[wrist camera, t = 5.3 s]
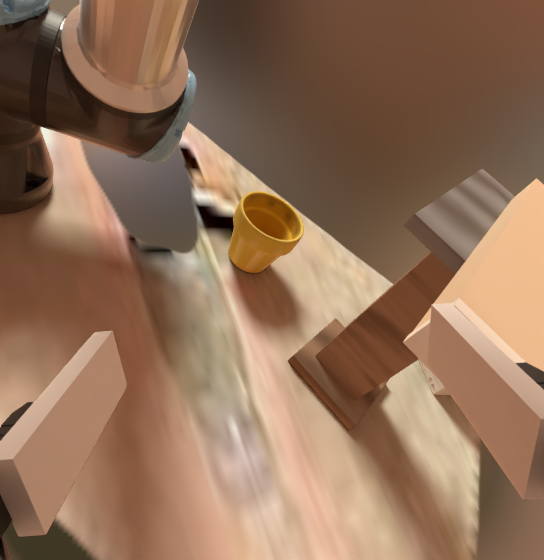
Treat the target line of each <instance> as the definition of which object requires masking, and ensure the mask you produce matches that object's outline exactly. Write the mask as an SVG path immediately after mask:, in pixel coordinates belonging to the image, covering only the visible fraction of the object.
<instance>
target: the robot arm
mask: <svg viewBox="0 0 544 560" xmlns="http://www.w3.org/2000/svg"><path fill="white" fill-rule="evenodd" d="M198 1H199V0H80V4H79V5H78V6H76V7H75V8H74V9H72V11H71V12H70V13H69V14H68V15H66V14H64V13H62V12H60V11H58V10H55V9H53V8H51V7H49V5H50V0H0V213H10V212H16V211H20V210H24V209H27V208H29V207H32V206H34V205H36V204H38V203H39V202H41V201H42V200H43V199H44V198H45V197H46V196H47V195H48V194H49V192H50V190H51V188H52V182H53V164H52V161H51V158H50V155H49V152H48V149H47V146H46V144H45V141H44V138H43V135H42V132H41V129H40V127H44V128H47V129H50V130H53V131H56V132H60V133H63V134H66V135H69V136H72V137H75V138H78V139H81V140H84V141H87V142H90V143H93V144H96V145H99V146H102V147H105V148H108V149H111V150H114V151H117V152H120V153H123V154H126V155H127V156H128V157H130V158H132V159H142V160H145V161H149V162H152V163H160V162H163V161H165V160H166V159H168V158H169V157H170V156H171V154H172V153H173V152H174V150H175V149H176V147H177V146H178V144H179V142H180V140H181V137H182V132H183V131H184V130H185V128H186V126H187V123H188V121H189V118H190V115H191V112H192V108H193V104H194V100H195V94H196V78H195V76H194V74H193V73H192V72H191V71H190V70H189V69H188V62H187V58H186V54H185V52H184V49H183V44H184V41H185V38H186V36H187V33H188V30H189V27H190V24H191V21H192V18H193V16H194V13H195V10H196V7H197V4H198ZM427 363H428V364H429V365H430V367H431V368H432V370H433V371H434V373H435V374H436V375H437V377H438V378H439V380H440V381H441V383H442V384H443V385H444V387H445V388H446V390H447V391H448V393H449V394H450V395H451V397H452V398H453V400H454V401H455V403H456V404H457V406H458V407H459V408H460V410H461V411H462V413H463V414H464V416H465V417H466V418H467V420H468V421H469V423H470V424H471V426H472V427H473V428H474V430H475V431H476V433H477V434H478V436H479V437H480V438H481V440H482V441H483V443H484V444H485V445H486V447H487V449H488V450H489V451H490V453H491V454H492V455H493V457H494V459H495V460H496V461H497V463H498V464H499V466H500V467H501V469H502V470H503V471H504V473H505V474H506V476H507V477H508V479H509V480H510V481H511V483H512V484H513V486H514V487H515V489H516V490H517V491H518V493H519V494H520V496H521V497H522V499H523V500H533V499H544V371H542V370H540V369H538V368H536V367H534V366H532V365H530V364H528V363H526V362H523V363H514V362H513V361H512V360H511V359H510V358H509V357H508V356H507V355H506V354H505V353H504V352H503V351H502V350H500V349H499V348H498V347H497V346H496V345H495V344H494V343H493V342H492V341H491V340H490V339H489V338H488V337H486V336H485V335H484V334H483V333H482V332H481V331H480V330H479V329H478V328H477V327H476V326H475V325H474V324H473V323H471V322H470V321H469V320H468V319H467V318H466V317H465V316H464V315H463V314H462V313H461V312H460V311H459V310H457V309H456V308H455V307H454V306H453V305H452V304H451V303H444V304H431V318H430V332H429V345H428V359H427ZM126 388H127V382H126V378H125V375H124V371H123V367H122V364H121V360H120V356H119V352H118V349H117V345H116V341H115V337H114V334H113V331H101V332H94V333H93V334H92V335H91V337H90V338H89V339H88V340H87V341H86V342H85V344H84V345H83V346H82V347H81V348H80V349H79V350H78V352H77V353H76V354H75V355H74V356H73V357H72V359H71V360H70V361H69V362H68V363H67V364H66V366H65V367H64V368H63V369H62V370H61V371H60V373H59V374H58V375H57V376H56V377H55V378H54V379H53V381H52V382H51V383H50V384H49V385H48V386H47V388H46V389H45V390H44V391H43V392H42V393H41V395H40V396H39V397H38V398H37V399H36V400H35V401H34V402H28V403H26V404H25V405H23V406H22V407H20V408H19V409H18V410H16V411H15V412H13V413H12V414H11V415H10V416H9V417H8V418H7V420H6V421H5V422H4V423H3V424H2V425H1V428H0V560H10V559H9V554H8V549H7V544H6V542H5V540H4V538H3V536H2V535H3V533H4V532H5V531H6V529H7V528H8V526H9V524H10V523H11V522H12V524H13V526H14V528H15V530H16V532H17V534H18V536H32V535H45V534H46V533H47V531H48V530H49V528H50V526H51V524H52V522H53V520H54V519H55V517H56V515H57V513H58V511H59V510H60V508H61V506H62V504H63V502H64V500H65V499H66V497H67V495H68V493H69V491H70V489H71V488H72V486H73V484H74V482H75V480H76V479H77V477H78V475H79V473H80V471H81V469H82V468H83V466H84V464H85V462H86V460H87V459H88V457H89V455H90V453H91V451H92V449H93V448H94V446H95V444H96V442H97V440H98V439H99V437H100V435H101V433H102V431H103V429H104V428H105V426H106V424H107V422H108V420H109V419H110V417H111V415H112V413H113V411H114V409H115V408H116V406H117V404H118V402H119V400H120V398H121V397H122V395H123V393H124V391H125V389H126Z"/></svg>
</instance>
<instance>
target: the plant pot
mask: <svg viewBox="0 0 544 560" xmlns="http://www.w3.org/2000/svg"><path fill="white" fill-rule="evenodd" d="M233 224H234V230H233V234H232V238H231V242H230V246H229V257H230V259H231V261H232V262H233V263H234V264H235V265H236V266H237V267H238V268H240V269H241V270H243V271H246V272H250V273H258V272H261V271H262V270H264V269H265V268H266V267H267V266H269V265H270V264H271V263H272V262H273V261H275V260H276V259H277V258H278V257H280V256H283V255H286V254H288V253H289V252H290V251H291V250H292V249H293V248H294V247H295V246H296V244H297V243H298V242H299V240H300V239H301V237H302V236H303V232H304V226H303V222H302V220H301V218H300V216H299V215H298V213H297V212H296V211H295V210H294V209H293V208H292V207H291V206H290V205H289V204H288V203H287V202H285V201H284V200H282V199H281V198H279V197H277V196H275V195H272V194H270V193H266V192H261V191H254V192H250V193H247V194H246V195H244V196H243V197H242V199H241V201H240V203H239V205H238V207H237V209H236V211H235V213H234V217H233Z"/></svg>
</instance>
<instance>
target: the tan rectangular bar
mask: <svg viewBox="0 0 544 560" xmlns="http://www.w3.org/2000/svg"><path fill="white" fill-rule="evenodd" d="M444 303H451V304H452V305H453V306H454V307H455V308H456V309H457V310H459V311H460V312H461V313H462V314H463V315H464V316H465V317H466V318H467V319H468V320H469V321H470V322H471V323H473V324H474V325H475V326H476V327H477V328H478V329H479V330H480V331H481V332H482V333H483V334H484V335H485V336H486V337H488V338H489V339H490V340H491V341H492V342H493V343H494V344H495V345H496V346H497V347H498V348H499V349H500V350H502V351H503V352H504V353H505V354H506V355H507V356H508V357H509V358H510V359H511V360H512V361H513V362H514V363H523V362H526V363H528V364H530V365H532V366H534V367H536V368H538V369H540V370H542V371H544V185H543V184H542V183H541V182H540V181H539V180H537V179H536V180H535V181H533V182H532V183H531V184H530V185H528V186H527V187H526V188H525V189H524V190H523V191H522V192H520V193H519V194H518V195H517V196H516V197H514V198H513V199H512V200H511V201H510V203H509V204H508V205H507V207H506V208H505V209H504V211H503V212H502V213H501V215H500V216H499V217H498V219H497V220H496V221H495V223H494V224H493V225H492V227H491V228H490V229H489V231H488V232H487V233H486V235H485V236H484V237H483V239H482V240H481V241H480V243H479V244H478V245H477V247H476V248H475V249H474V251H473V252H472V253H471V255H470V256H469V257H468V259H467V260H466V261H465V263H464V264H463V265H462V267H461V268H460V269H459V271H458V272H457V273H456V275H455V276H454V277H453V279H452V280H451V281H450V283H449V284H448V285H447V287H446V288H445V289H444V290H443V292H442V293H441V294H440V296H439V297H438V298H437V300H436V301H435V302H434V304H444ZM430 318H431V308H430V309H429V310H428V312H427V313H426V314H425V316H424V317H423V318H422V320H421V321H420V322H419V324H418V325H417V326H416V328H415V329H414V330H413V332H411V333H410V334H409V335H408V336H407V337H406V339H405V340H404V341H403V343H404V344H405V345H406V346H407V347H408V348H409V349H410V350H411V351H412V352H413V353H414V354H415V355H416V356H417V358H418V359H419V360H420V361H421V362H422V363H423V364H424V365H425V366H426V367H427V368H428V369H429V370H430V371H431V372H432V373H433V374H434V375H435V376H436V377H437V375H436V374H435V373H434V371H433V370H432V368H431V367H430V365H429V364H428V363H427V359H428V345H429V332H430ZM437 378H438V377H437ZM438 379H439V378H438Z"/></svg>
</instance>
